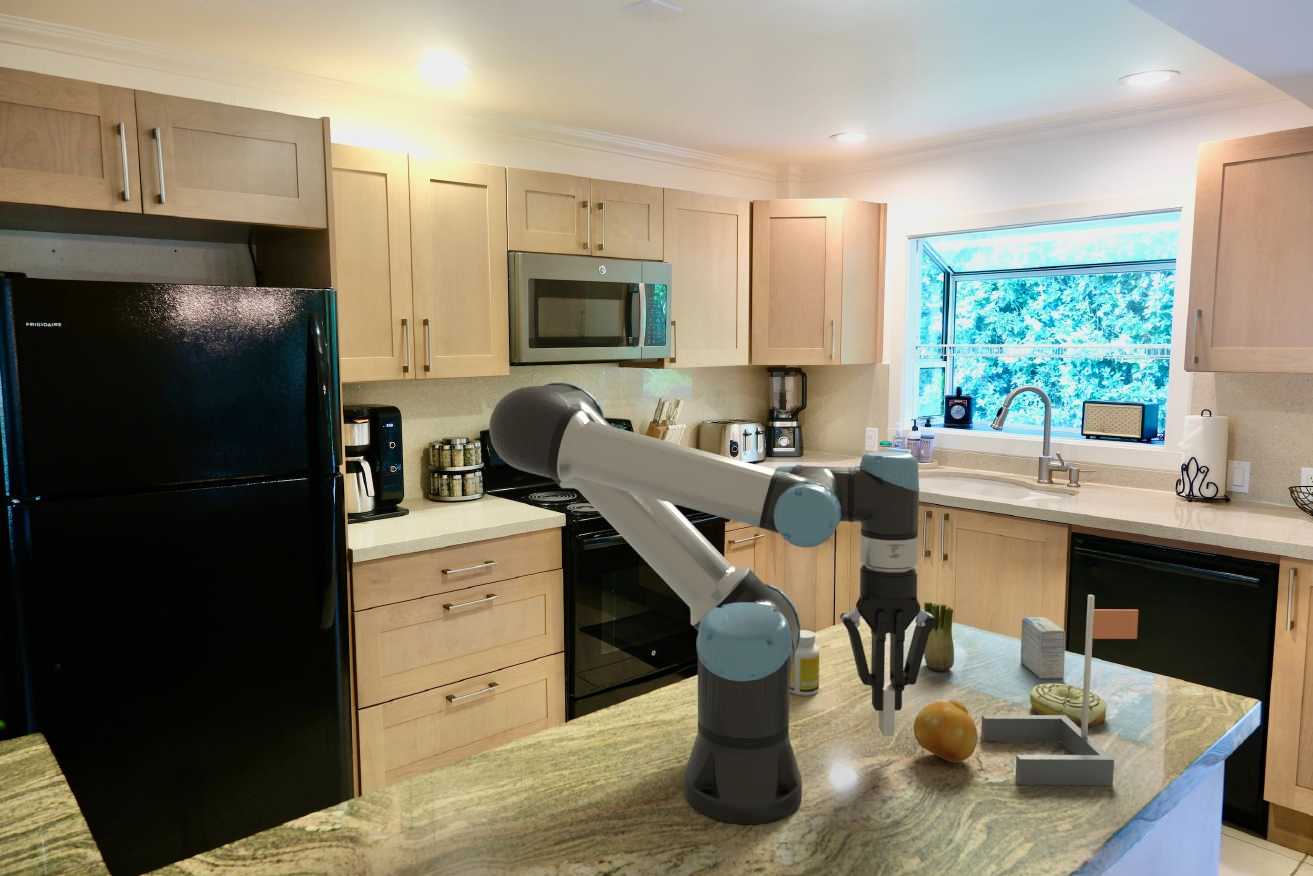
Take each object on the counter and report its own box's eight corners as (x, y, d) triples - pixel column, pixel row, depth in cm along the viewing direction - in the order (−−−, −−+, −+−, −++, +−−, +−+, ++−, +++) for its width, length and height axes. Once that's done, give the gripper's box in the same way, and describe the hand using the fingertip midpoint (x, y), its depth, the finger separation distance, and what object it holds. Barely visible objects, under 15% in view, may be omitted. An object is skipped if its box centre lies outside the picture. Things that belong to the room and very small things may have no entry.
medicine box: (1064, 679, 144) (1066, 631, 143) (1038, 679, 144) (1040, 631, 143) (1044, 662, 152) (1046, 616, 151) (1019, 662, 152) (1021, 616, 151)
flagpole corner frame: (1019, 784, 109) (1026, 610, 107) (981, 737, 122) (987, 582, 120) (1157, 785, 109) (1168, 610, 106) (1104, 738, 122) (1112, 582, 120)
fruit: (950, 742, 121) (952, 689, 120) (989, 769, 113) (991, 712, 112) (902, 751, 118) (904, 697, 118) (938, 778, 111) (940, 721, 110)
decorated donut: (1100, 737, 123) (1101, 712, 123) (1023, 719, 129) (1024, 695, 129) (1109, 712, 132) (1110, 689, 131) (1036, 696, 138) (1037, 674, 137)
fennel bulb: (918, 663, 152) (920, 599, 151) (944, 661, 153) (946, 598, 151) (932, 675, 146) (934, 608, 145) (958, 673, 147) (961, 607, 146)
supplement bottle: (823, 688, 141) (824, 632, 140) (811, 699, 136) (812, 641, 135) (793, 681, 144) (794, 626, 143) (781, 692, 139) (781, 635, 138)
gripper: (846, 573, 110) (844, 744, 112) (945, 572, 109) (942, 744, 112) (835, 559, 117) (834, 720, 119) (928, 558, 117) (925, 719, 119)
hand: (886, 731), depth 115 cm, fingers closed
